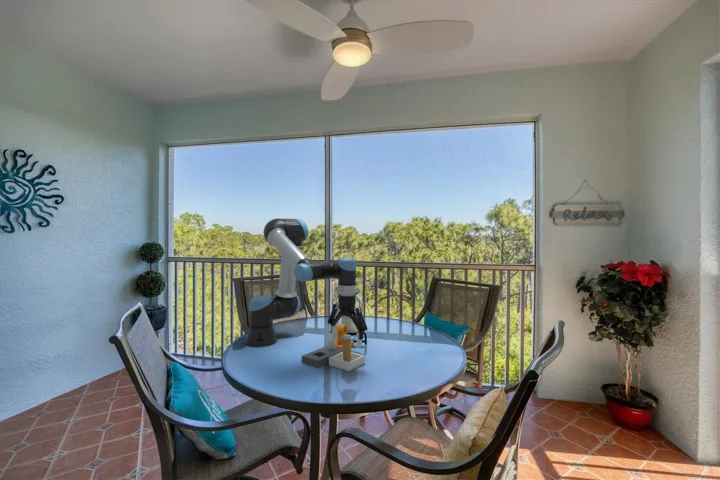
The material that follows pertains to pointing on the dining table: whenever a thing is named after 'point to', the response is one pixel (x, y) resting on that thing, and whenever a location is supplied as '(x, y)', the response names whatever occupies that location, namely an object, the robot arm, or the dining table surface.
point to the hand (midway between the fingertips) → (346, 343)
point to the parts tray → (338, 361)
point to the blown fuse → (347, 348)
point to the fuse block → (322, 354)
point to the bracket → (341, 334)
